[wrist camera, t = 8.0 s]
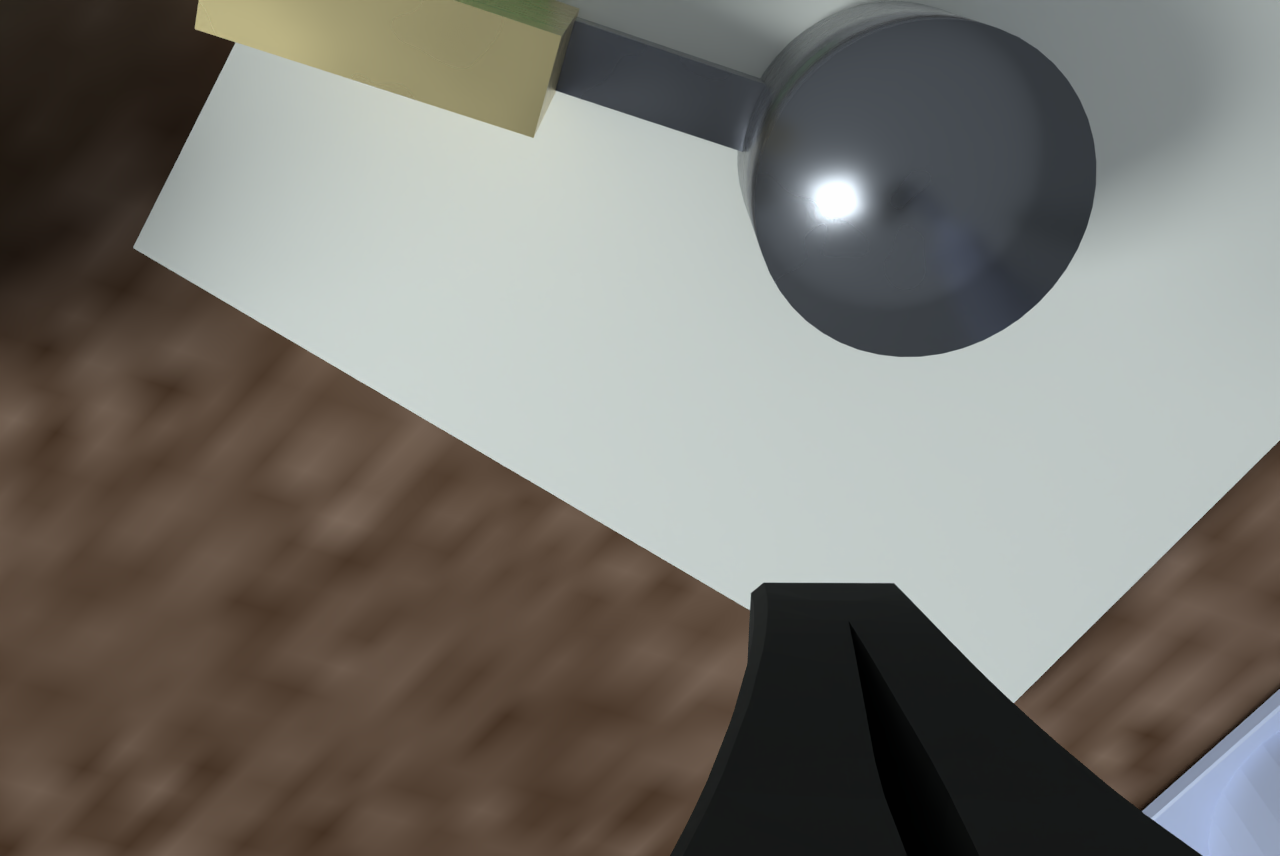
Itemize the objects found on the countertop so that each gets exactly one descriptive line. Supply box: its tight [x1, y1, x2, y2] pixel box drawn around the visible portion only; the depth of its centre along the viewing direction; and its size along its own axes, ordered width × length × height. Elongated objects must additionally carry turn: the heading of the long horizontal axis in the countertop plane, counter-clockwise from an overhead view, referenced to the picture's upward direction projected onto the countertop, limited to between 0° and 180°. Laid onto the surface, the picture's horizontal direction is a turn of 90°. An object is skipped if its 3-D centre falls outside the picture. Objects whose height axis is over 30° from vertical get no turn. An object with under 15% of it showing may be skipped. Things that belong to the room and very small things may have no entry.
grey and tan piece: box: [195, 0, 1096, 357], centre depth 15 cm, size 11×4×4 cm, turn 72°
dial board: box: [133, 0, 1280, 703], centre depth 18 cm, size 19×18×1 cm
